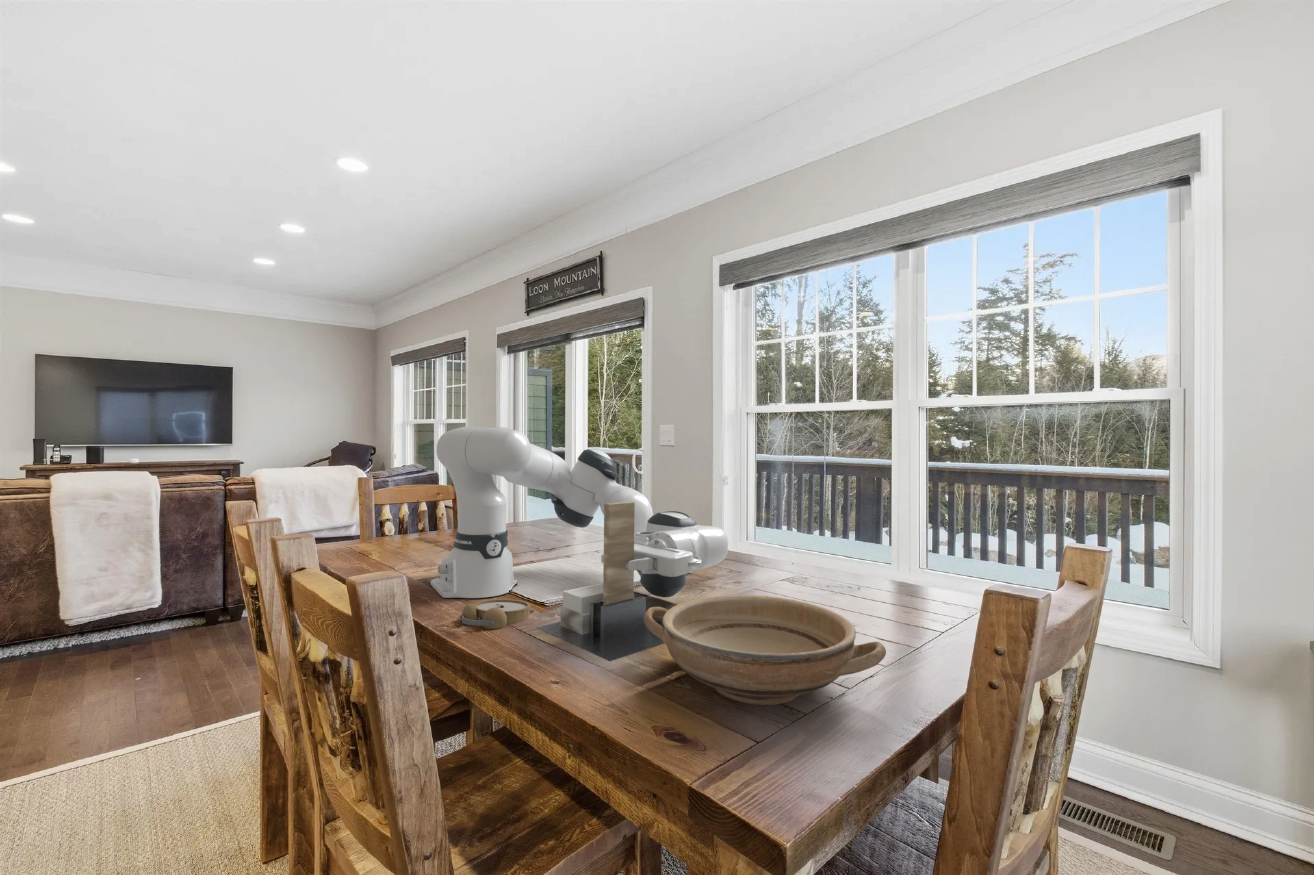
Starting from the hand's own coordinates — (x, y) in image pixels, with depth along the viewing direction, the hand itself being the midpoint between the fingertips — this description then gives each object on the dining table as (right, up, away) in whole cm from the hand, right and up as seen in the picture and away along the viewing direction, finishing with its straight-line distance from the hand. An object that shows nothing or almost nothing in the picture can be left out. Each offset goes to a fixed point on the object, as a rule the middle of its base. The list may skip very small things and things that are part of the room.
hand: (615, 562), depth 109 cm
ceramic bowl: (+23, -15, -20) cm, 33 cm away
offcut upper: (-5, -9, +5) cm, 12 cm away
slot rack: (0, -14, +1) cm, 14 cm away
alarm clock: (-24, -14, +8) cm, 29 cm away
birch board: (0, -13, +1) cm, 13 cm away
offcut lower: (-4, -13, +5) cm, 15 cm away
